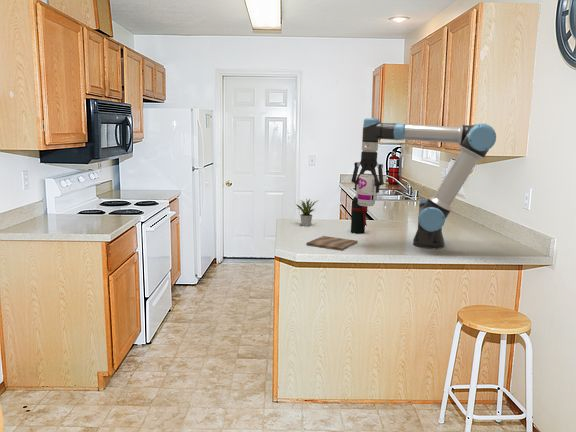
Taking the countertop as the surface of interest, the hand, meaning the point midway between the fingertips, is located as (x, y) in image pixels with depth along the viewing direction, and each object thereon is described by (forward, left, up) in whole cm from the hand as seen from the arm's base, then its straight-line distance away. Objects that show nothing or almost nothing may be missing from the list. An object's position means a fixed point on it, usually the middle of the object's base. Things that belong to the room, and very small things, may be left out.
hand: (366, 198), depth 248 cm
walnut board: (+15, +5, -24) cm, 28 cm away
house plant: (+47, -30, -24) cm, 60 cm away
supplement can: (0, 0, -3) cm, 3 cm away
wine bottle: (+14, -28, -24) cm, 39 cm away
